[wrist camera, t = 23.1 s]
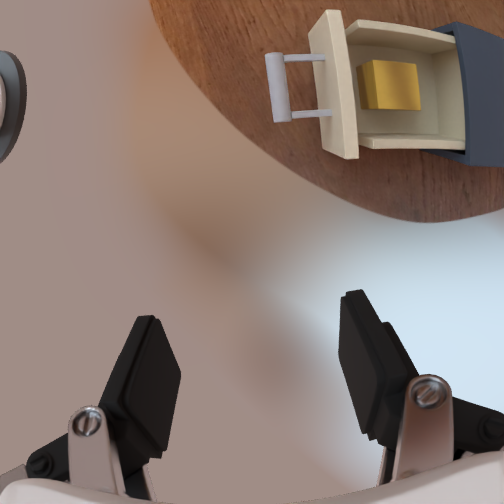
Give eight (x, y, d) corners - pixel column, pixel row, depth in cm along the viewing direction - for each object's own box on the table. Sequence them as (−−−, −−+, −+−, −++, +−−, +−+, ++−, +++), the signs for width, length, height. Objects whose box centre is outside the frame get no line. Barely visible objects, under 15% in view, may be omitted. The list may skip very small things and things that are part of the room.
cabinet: (419, 150, 29) (470, 166, 20) (408, 38, 23) (456, 21, 15) (503, 154, 28) (550, 170, 20) (496, 60, 23) (545, 59, 14)
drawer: (273, 153, 29) (281, 164, 22) (257, 36, 24) (260, 10, 17) (439, 146, 28) (481, 158, 21) (429, 44, 23) (470, 34, 16)
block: (360, 109, 26) (378, 108, 22) (355, 66, 24) (372, 59, 20) (399, 110, 26) (421, 110, 21) (395, 69, 24) (416, 64, 20)
